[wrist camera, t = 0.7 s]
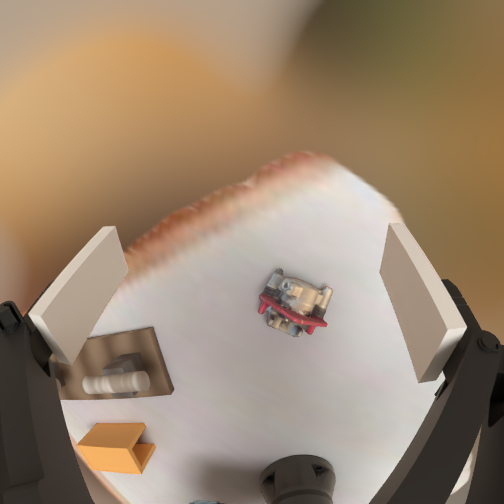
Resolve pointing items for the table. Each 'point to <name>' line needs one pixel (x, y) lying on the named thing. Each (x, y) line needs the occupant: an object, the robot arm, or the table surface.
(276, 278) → the brake caliper
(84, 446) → the box
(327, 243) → the table surface
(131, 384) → the shaft stand
